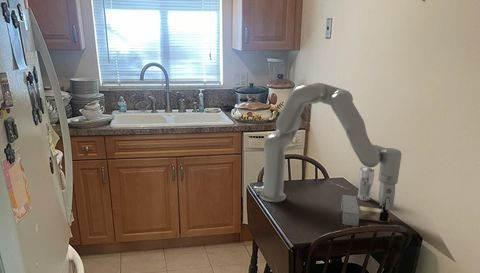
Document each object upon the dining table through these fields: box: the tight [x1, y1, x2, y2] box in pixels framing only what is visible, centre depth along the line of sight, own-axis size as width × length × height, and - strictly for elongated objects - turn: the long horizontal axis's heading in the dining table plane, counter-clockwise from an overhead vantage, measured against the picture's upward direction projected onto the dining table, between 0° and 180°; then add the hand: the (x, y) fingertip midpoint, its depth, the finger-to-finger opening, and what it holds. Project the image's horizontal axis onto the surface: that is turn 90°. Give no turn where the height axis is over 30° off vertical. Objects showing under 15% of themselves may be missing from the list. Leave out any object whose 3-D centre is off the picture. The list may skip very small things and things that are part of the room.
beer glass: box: [356, 166, 375, 202], centre depth 179 cm, size 7×7×15 cm
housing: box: [340, 194, 360, 227], centre depth 161 cm, size 6×19×6 cm, turn 167°
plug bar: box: [358, 205, 391, 223], centre depth 159 cm, size 13×4×4 cm, turn 77°
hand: (382, 218), depth 159 cm, fingers closed on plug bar, 4 cm apart
